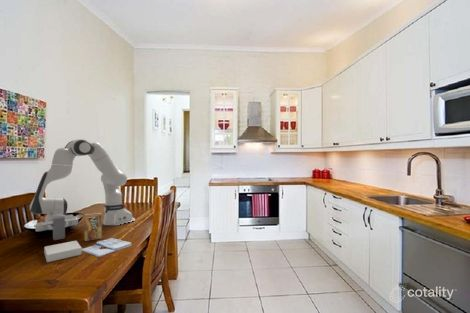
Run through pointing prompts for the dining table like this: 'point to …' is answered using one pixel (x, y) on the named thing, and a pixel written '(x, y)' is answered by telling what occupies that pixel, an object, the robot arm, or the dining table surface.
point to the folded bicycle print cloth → (109, 243)
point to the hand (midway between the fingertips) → (59, 227)
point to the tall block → (59, 227)
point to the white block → (62, 251)
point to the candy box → (93, 226)
